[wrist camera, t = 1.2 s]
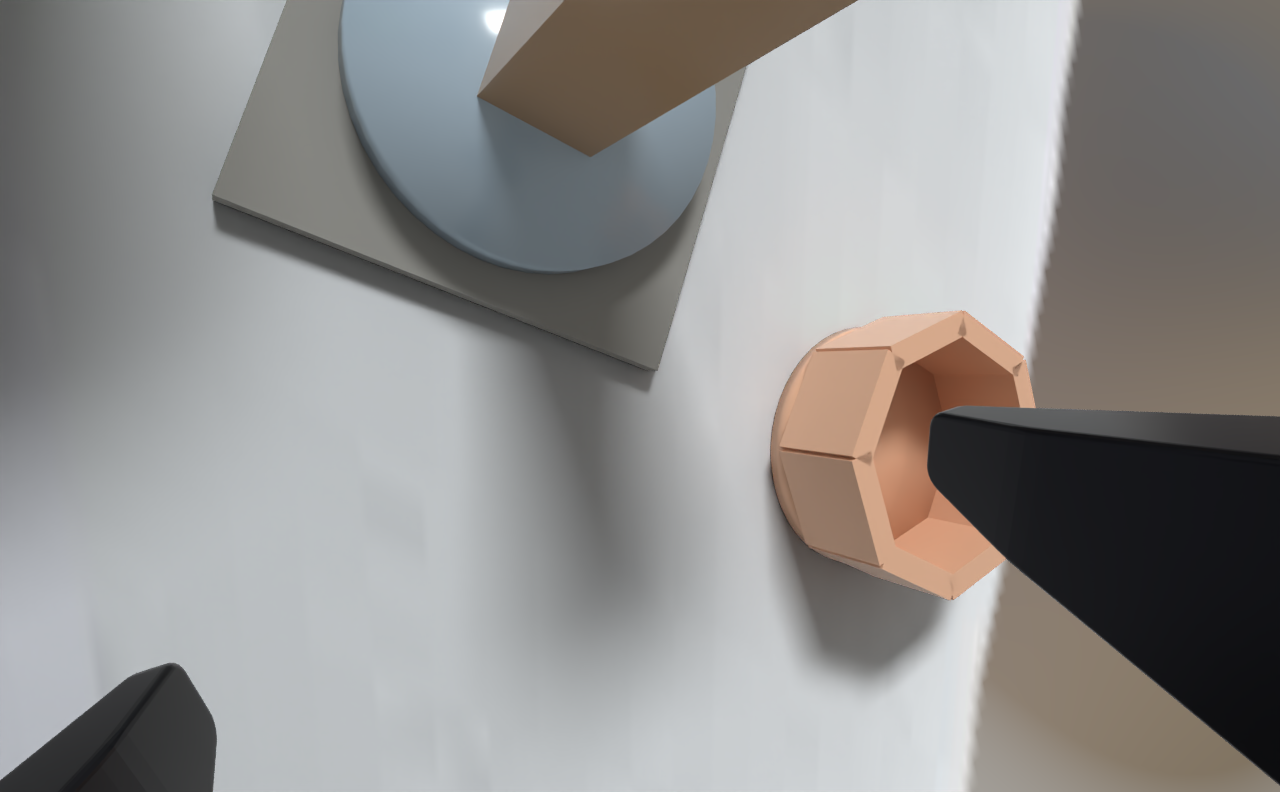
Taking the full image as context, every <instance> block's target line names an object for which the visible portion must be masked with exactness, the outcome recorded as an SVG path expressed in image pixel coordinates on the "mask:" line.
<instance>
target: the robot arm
mask: <svg viewBox="0 0 1280 792" xmlns="http://www.w3.org/2000/svg"><path fill="white" fill-rule="evenodd" d="M927 470H928V475H929V477H930V480H931V482H932V483H933V485H934V486H935V488H936V489H937V490H938V491H939V492H940V493H941V494H942V495H943V496H944V497H945V498H946V499H947V500H948V501H949V502H950V503H951V504H952V505H953V506H954V507H955V508H956V509H957V510H958V511H959V512H960V513H961V514H962V515H963V516H964V517H965V518H966V519H967V520H968V521H969V522H970V523H971V524H972V525H973V526H974V527H975V528H976V529H977V530H978V531H979V532H980V533H981V534H982V535H983V536H984V537H985V538H986V539H987V540H988V541H989V542H990V543H991V544H992V545H993V546H994V547H995V548H996V549H997V550H998V551H999V552H1000V553H1001V554H1002V555H1003V556H1004V557H1005V558H1006V559H1007V560H1008V561H1009V562H1010V563H1012V564H1013V565H1014V566H1015V567H1016V568H1017V569H1019V570H1020V571H1021V572H1022V573H1023V574H1024V575H1026V576H1027V577H1028V578H1029V579H1030V580H1032V581H1033V582H1034V583H1035V584H1037V585H1038V586H1039V587H1040V588H1041V589H1043V590H1044V591H1045V592H1046V593H1048V594H1049V595H1050V596H1051V597H1052V598H1054V599H1055V600H1056V601H1057V602H1059V603H1060V604H1061V605H1062V606H1063V607H1064V608H1066V609H1067V610H1068V611H1069V612H1070V613H1072V614H1073V615H1074V616H1075V617H1076V618H1078V619H1079V620H1080V621H1081V622H1083V623H1084V624H1085V625H1086V626H1087V627H1089V628H1090V629H1091V630H1092V631H1093V632H1095V633H1096V634H1097V635H1098V636H1100V637H1101V638H1102V639H1103V640H1104V641H1106V642H1107V643H1108V644H1109V645H1110V646H1112V647H1113V648H1114V649H1115V650H1116V651H1118V652H1119V653H1120V654H1121V655H1122V656H1124V657H1125V658H1126V659H1127V660H1129V661H1130V662H1131V663H1132V664H1133V665H1135V666H1136V667H1137V668H1138V669H1139V670H1141V671H1142V672H1143V673H1144V674H1145V675H1147V676H1148V677H1149V678H1150V679H1152V680H1153V681H1154V682H1155V683H1156V684H1158V685H1159V686H1160V687H1161V688H1163V689H1164V690H1165V691H1166V692H1167V693H1168V694H1170V695H1171V696H1172V697H1173V698H1174V699H1176V700H1177V701H1178V702H1179V703H1181V704H1182V705H1183V706H1184V707H1185V708H1187V709H1188V710H1189V711H1190V712H1192V713H1193V714H1194V715H1195V716H1196V717H1197V718H1199V719H1200V720H1201V721H1202V722H1204V723H1205V724H1206V725H1207V726H1209V727H1210V728H1211V729H1212V730H1213V731H1214V732H1216V733H1217V734H1218V735H1219V736H1220V737H1222V738H1223V739H1224V740H1225V741H1226V742H1228V743H1229V744H1230V745H1231V746H1233V747H1234V748H1235V749H1236V750H1237V751H1239V752H1240V753H1241V754H1242V755H1243V756H1245V757H1246V758H1247V759H1248V760H1249V761H1251V762H1252V763H1253V764H1254V765H1256V766H1257V767H1258V768H1259V769H1260V770H1262V771H1263V772H1264V773H1265V774H1266V775H1268V776H1269V777H1270V778H1271V779H1273V780H1274V781H1275V782H1276V783H1277V784H1279V785H1280V417H1277V416H1249V415H1248V416H1247V415H1220V414H1191V413H1163V412H1134V411H1105V410H1076V409H1048V408H1046V409H1045V408H1020V407H991V406H957V407H954V408H951V409H948V410H945V411H942V412H939V413H937V414H936V415H935V416H934V417H933V418H932V420H931V422H930V431H929V444H928V457H927ZM216 746H217V735H216V728H215V723H214V720H213V717H212V715H211V713H210V711H209V710H208V708H207V706H206V705H205V703H204V701H203V700H202V698H201V696H200V695H199V693H198V691H197V690H196V688H195V687H194V685H193V683H192V682H191V680H190V678H189V677H188V675H187V673H186V672H185V670H184V669H183V668H182V667H181V666H180V665H178V664H175V663H167V664H164V665H161V666H158V667H154V668H151V669H148V670H145V671H142V672H139V673H136V674H134V675H132V676H130V677H128V678H127V679H126V680H124V681H123V682H122V683H121V684H119V685H118V686H117V687H116V688H114V689H113V690H112V691H111V692H109V693H108V694H107V695H106V696H104V697H103V698H102V699H101V700H100V701H98V702H97V703H96V704H95V705H93V706H92V707H91V708H90V709H88V710H87V711H86V712H85V713H83V714H82V715H81V716H80V717H78V718H77V719H76V720H75V721H73V722H72V723H71V724H70V725H68V726H67V727H66V728H65V729H63V730H62V731H61V732H60V733H59V734H57V735H56V736H55V737H54V738H52V739H51V740H50V741H49V742H47V743H46V744H45V745H44V746H42V747H41V748H40V749H39V750H37V751H36V752H35V753H34V754H32V755H31V756H30V757H29V758H27V759H26V760H25V761H24V762H22V763H21V764H20V765H19V766H17V767H16V768H15V769H14V770H13V771H11V772H10V773H9V774H8V775H6V776H5V777H4V778H3V779H1V780H0V792H213V783H214V771H215V758H216Z"/></svg>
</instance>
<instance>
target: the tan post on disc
mask: <svg viewBox="0 0 1280 792" xmlns="http://www.w3.org/2000/svg"><path fill="white" fill-rule="evenodd" d="M856 1H857V0H343V1H342V4H341V11H340V18H339V26H338V63H339V70H340V77H341V84H342V90H343V93H344V97H345V100H346V104H347V107H348V111H349V115H350V118H351V120H352V123H353V125H354V127H355V130H356V132H357V135H358V137H359V139H360V142H361V144H362V146H363V148H364V150H365V151H366V153H367V155H368V157H369V158H370V160H371V162H372V164H373V165H374V167H375V169H376V171H377V172H378V173H379V175H380V176H381V178H382V179H383V180H384V182H385V183H386V184H387V186H388V187H389V188H390V190H391V191H392V193H393V194H394V195H395V196H396V197H397V198H398V199H399V200H400V202H401V203H402V204H403V205H404V206H405V207H406V208H407V209H408V210H409V211H410V212H411V213H412V214H413V215H414V216H415V217H416V218H417V219H418V220H419V221H421V222H422V223H423V224H424V225H425V226H426V227H428V228H429V229H430V230H431V231H432V232H434V233H435V234H436V235H438V236H439V237H441V238H442V239H444V240H445V241H447V242H448V243H450V244H451V245H453V246H454V247H456V248H458V249H460V250H462V251H464V252H466V253H468V254H470V255H472V256H474V257H476V258H478V259H480V260H482V261H485V262H488V263H491V264H494V265H496V266H499V267H502V268H506V269H511V270H515V271H520V272H525V273H536V274H563V273H573V272H577V271H582V270H586V269H591V268H595V267H598V266H602V265H605V264H609V263H612V262H615V261H617V260H620V259H622V258H625V257H628V256H630V255H632V254H634V253H636V252H637V251H639V250H641V249H643V248H644V247H646V246H648V245H650V244H651V243H652V242H653V241H655V240H656V239H657V238H658V237H660V236H661V235H662V234H663V233H665V232H666V231H667V230H668V229H669V227H670V226H671V225H672V224H673V223H674V222H675V221H676V220H677V219H678V218H679V217H680V215H681V214H682V212H683V211H684V210H685V208H686V207H687V205H688V204H689V202H690V201H691V200H692V198H693V196H694V194H695V192H696V190H697V188H698V186H699V184H700V182H701V180H702V177H703V174H704V171H705V169H706V166H707V163H708V160H709V156H710V151H711V147H712V143H713V137H714V128H715V119H716V92H715V84H716V83H718V82H719V81H721V80H723V79H725V78H726V77H728V76H730V75H731V74H733V73H735V72H736V71H738V70H740V69H742V68H743V67H745V66H747V65H748V64H750V63H752V62H754V61H755V60H757V59H759V58H760V57H762V56H764V55H765V54H767V53H769V52H771V51H772V50H774V49H776V48H777V47H779V46H781V45H782V44H784V43H786V42H788V41H789V40H791V39H793V38H794V37H796V36H798V35H799V34H801V33H803V32H805V31H806V30H808V29H810V28H811V27H813V26H815V25H817V24H818V23H820V22H822V21H823V20H825V19H827V18H828V17H830V16H832V15H834V14H835V13H837V12H839V11H840V10H842V9H844V8H845V7H847V6H849V5H851V4H852V3H854V2H856Z"/></svg>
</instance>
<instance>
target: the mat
mask: <svg viewBox="0 0 1280 792" xmlns="http://www.w3.org/2000/svg"><path fill="white" fill-rule="evenodd" d="M342 1H343V0H287V1H286V4H285V6H284V9H283V12H282V14H281V17H280V19H279V22H278V25H277V27H276V30H275V32H274V35H273V38H272V40H271V43H270V45H269V48H268V51H267V53H266V56H265V58H264V61H263V64H262V66H261V69H260V71H259V74H258V77H257V79H256V82H255V84H254V87H253V90H252V92H251V95H250V97H249V100H248V103H247V105H246V108H245V110H244V113H243V116H242V118H241V121H240V123H239V126H238V129H237V131H236V134H235V136H234V139H233V142H232V144H231V147H230V149H229V152H228V155H227V157H226V160H225V162H224V165H223V168H222V170H221V173H220V175H219V178H218V181H217V183H216V186H215V188H214V191H213V194H212V200H213V201H216V202H219V203H221V204H224V205H226V206H229V207H231V208H234V209H236V210H239V211H242V212H244V213H247V214H249V215H252V216H254V217H257V218H259V219H262V220H264V221H267V222H270V223H272V224H275V225H277V226H280V227H282V228H285V229H287V230H290V231H293V232H295V233H298V234H300V235H303V236H305V237H308V238H310V239H313V240H315V241H318V242H321V243H323V244H326V245H328V246H331V247H333V248H336V249H338V250H341V251H344V252H346V253H349V254H351V255H354V256H356V257H359V258H361V259H364V260H367V261H369V262H372V263H374V264H377V265H379V266H382V267H384V268H387V269H389V270H392V271H395V272H397V273H400V274H402V275H405V276H407V277H410V278H412V279H415V280H418V281H420V282H423V283H425V284H428V285H430V286H433V287H435V288H438V289H440V290H443V291H446V292H448V293H451V294H453V295H456V296H458V297H461V298H463V299H466V300H469V301H471V302H474V303H476V304H479V305H481V306H484V307H486V308H489V309H492V310H494V311H497V312H499V313H502V314H504V315H507V316H509V317H512V318H514V319H517V320H520V321H522V322H525V323H527V324H530V325H532V326H535V327H537V328H540V329H543V330H545V331H548V332H550V333H553V334H555V335H558V336H560V337H563V338H565V339H568V340H571V341H573V342H576V343H578V344H581V345H583V346H586V347H588V348H591V349H594V350H596V351H599V352H601V353H604V354H606V355H609V356H611V357H614V358H616V359H619V360H622V361H624V362H627V363H629V364H632V365H634V366H637V367H639V368H642V369H645V370H647V371H658V367H659V364H660V360H661V357H662V353H663V350H664V347H665V343H666V340H667V336H668V333H669V329H670V326H671V323H672V319H673V316H674V312H675V309H676V305H677V302H678V299H679V295H680V292H681V288H682V285H683V281H684V278H685V275H686V271H687V268H688V264H689V261H690V257H691V254H692V251H693V247H694V244H695V240H696V237H697V233H698V230H699V227H700V223H701V220H702V216H703V213H704V209H705V206H706V203H707V199H708V196H709V192H710V189H711V185H712V182H713V179H714V175H715V172H716V168H717V165H718V161H719V158H720V155H721V151H722V148H723V144H724V141H725V137H726V134H727V131H728V127H729V124H730V120H731V117H732V113H733V110H734V107H735V103H736V100H737V96H738V93H739V89H740V86H741V83H742V79H743V76H744V72H745V69H746V66H745V67H743V68H742V69H740V70H738V71H736V72H735V73H733V74H731V75H730V76H728V77H726V78H725V79H723V80H721V81H719V82H718V83H716V84H715V92H716V119H715V128H714V137H713V143H712V147H711V151H710V156H709V160H708V163H707V166H706V169H705V171H704V174H703V177H702V180H701V182H700V184H699V186H698V188H697V190H696V192H695V194H694V196H693V198H692V200H691V201H690V202H689V204H688V205H687V207H686V208H685V210H684V211H683V212H682V214H681V215H680V217H679V218H678V219H677V220H676V221H675V222H674V223H673V224H672V225H671V226H670V227H669V229H668V230H667V231H666V232H665V233H663V234H662V235H661V236H660V237H658V238H657V239H656V240H655V241H653V242H652V243H651V244H650V245H648V246H646V247H644V248H643V249H641V250H639V251H637V252H636V253H634V254H632V255H630V256H628V257H625V258H622V259H620V260H617V261H615V262H612V263H609V264H605V265H602V266H598V267H595V268H591V269H586V270H582V271H577V272H573V273H563V274H536V273H525V272H520V271H515V270H511V269H506V268H502V267H499V266H496V265H494V264H491V263H488V262H485V261H482V260H480V259H478V258H476V257H474V256H472V255H470V254H468V253H466V252H464V251H462V250H460V249H458V248H456V247H454V246H453V245H451V244H450V243H448V242H447V241H445V240H444V239H442V238H441V237H439V236H438V235H436V234H435V233H434V232H432V231H431V230H430V229H429V228H428V227H426V226H425V225H424V224H423V223H422V222H421V221H419V220H418V219H417V218H416V217H415V216H414V215H413V214H412V213H411V212H410V211H409V210H408V209H407V208H406V207H405V206H404V205H403V204H402V203H401V202H400V200H399V199H398V198H397V197H396V196H395V195H394V194H393V193H392V191H391V190H390V188H389V187H388V186H387V184H386V183H385V182H384V180H383V179H382V178H381V176H380V175H379V173H378V172H377V171H376V169H375V167H374V165H373V164H372V162H371V160H370V158H369V157H368V155H367V153H366V151H365V150H364V148H363V146H362V144H361V142H360V139H359V137H358V135H357V132H356V130H355V127H354V125H353V123H352V120H351V118H350V115H349V111H348V107H347V104H346V100H345V97H344V93H343V90H342V84H341V77H340V70H339V63H338V26H339V18H340V11H341V4H342Z"/></svg>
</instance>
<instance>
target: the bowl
mask: <svg viewBox="0 0 1280 792" xmlns="http://www.w3.org/2000/svg"><path fill="white" fill-rule="evenodd" d="M1023 358H1024V356H1023V355H1021V354H1020V353H1019V352H1017V351H1016V350H1015V349H1014V348H1012V347H1011V346H1010V345H1008V344H1007V343H1006V342H1005V341H1003V340H1002V339H1001V338H999V337H998V336H997V335H996V334H994V333H993V332H992V331H990V330H989V329H988V328H986V327H985V326H984V325H983V324H981V323H980V322H979V321H977V320H976V319H975V318H974V317H972V316H971V315H970V314H968V313H967V312H966V311H962V310H961V311H949V312H937V313H925V314H913V315H901V316H889V317H882V318H880V319H878V320H876V321H874V322H871V323H869V324H867V325H865V326H863V327H855V328H850V329H845V330H842V331H839V332H836V333H834V334H832V335H830V336H828V337H827V338H825V339H823V340H822V341H820V342H819V343H818V344H817V345H815V346H814V347H813V348H812V349H811V350H810V351H809V352H808V353H807V354H806V355H805V356H804V357H803V358H802V359H801V361H800V362H799V364H798V365H797V366H796V368H795V369H794V371H793V372H792V374H791V376H790V378H789V379H788V381H787V383H786V385H785V388H784V390H783V392H782V395H781V397H780V400H779V403H778V407H777V410H776V413H775V418H774V424H773V429H772V439H771V466H772V474H773V481H774V485H775V490H776V494H777V497H778V500H779V502H780V505H781V508H782V510H783V512H784V514H785V516H786V518H787V520H788V522H789V524H790V525H791V527H792V528H793V530H794V531H795V533H796V534H797V535H798V536H799V537H800V538H801V539H802V541H803V542H804V543H805V544H807V545H808V547H809V548H812V549H813V550H814V551H815V552H817V553H819V554H821V555H823V556H824V557H827V558H830V559H833V560H835V561H839V562H842V563H845V564H847V565H849V566H852V567H854V568H856V569H858V570H860V571H863V572H865V573H867V574H869V575H872V576H874V577H877V578H880V579H884V580H887V581H890V582H893V583H896V584H899V585H903V586H906V587H909V588H912V589H915V590H918V591H922V592H925V593H928V594H931V595H934V596H937V597H941V598H944V599H947V600H951V599H952V600H954V599H956V598H957V597H958V596H959V595H961V594H962V593H963V592H965V591H966V590H967V589H968V588H970V587H971V586H972V585H974V584H975V583H976V582H977V581H979V580H980V579H981V578H983V577H984V576H985V575H986V574H988V573H989V572H990V571H992V570H993V569H994V568H995V567H997V566H998V565H999V564H1001V563H1002V562H1003V561H1004V560H1006V558H1005V557H1004V556H1003V555H1002V554H1001V553H1000V552H999V551H998V550H997V549H996V548H995V547H994V546H993V545H992V544H991V543H990V542H989V541H988V540H987V539H986V538H985V537H984V536H983V535H982V534H981V533H980V532H979V531H978V530H977V529H976V528H975V527H974V526H973V525H972V524H971V523H970V522H969V521H968V520H967V519H966V518H965V517H964V516H963V515H962V514H961V513H960V512H959V511H958V510H957V509H956V508H955V507H954V506H953V505H952V504H951V503H950V502H949V501H948V500H947V499H946V498H945V497H944V496H943V495H942V494H941V493H940V492H939V491H938V490H937V489H936V488H935V486H934V485H933V483H932V482H931V480H930V477H929V475H928V470H927V457H928V444H929V431H930V422H931V420H932V418H933V417H934V416H935V415H936V414H937V413H939V412H942V411H945V410H948V409H951V408H954V407H957V406H991V407H1020V408H1036V407H1035V402H1034V397H1033V393H1032V388H1031V383H1030V378H1029V373H1028V369H1027V364H1026V360H1023Z"/></svg>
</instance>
